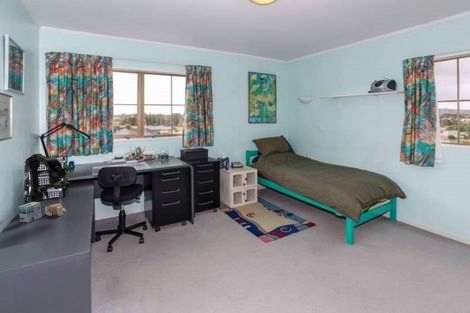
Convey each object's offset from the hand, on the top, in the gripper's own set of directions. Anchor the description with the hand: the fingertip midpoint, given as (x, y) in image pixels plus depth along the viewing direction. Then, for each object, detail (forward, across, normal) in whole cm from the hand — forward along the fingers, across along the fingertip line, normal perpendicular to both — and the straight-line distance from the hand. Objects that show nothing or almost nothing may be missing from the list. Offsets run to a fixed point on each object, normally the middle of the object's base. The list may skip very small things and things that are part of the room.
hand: (56, 198), depth 188 cm
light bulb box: (+13, -14, +7) cm, 20 cm away
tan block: (+13, +1, +7) cm, 14 cm away
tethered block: (+13, +1, +4) cm, 13 cm away
